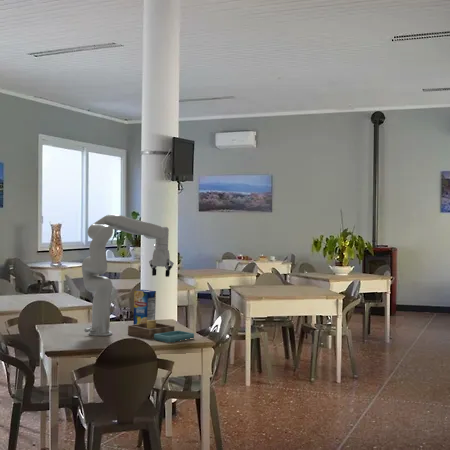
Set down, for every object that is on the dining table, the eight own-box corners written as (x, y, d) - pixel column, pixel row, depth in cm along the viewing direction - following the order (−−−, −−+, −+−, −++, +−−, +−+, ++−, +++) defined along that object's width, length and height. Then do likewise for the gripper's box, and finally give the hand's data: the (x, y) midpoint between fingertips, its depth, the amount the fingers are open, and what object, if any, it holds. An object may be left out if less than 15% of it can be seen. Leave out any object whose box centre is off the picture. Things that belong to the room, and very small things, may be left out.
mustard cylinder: (150, 336, 348) (151, 321, 348) (144, 334, 351) (145, 320, 351) (157, 334, 352) (158, 320, 352) (151, 333, 355) (151, 319, 355)
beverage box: (146, 330, 367) (147, 291, 367) (133, 327, 373) (134, 290, 373) (154, 328, 372) (156, 291, 372) (141, 326, 379) (142, 289, 379)
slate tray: (170, 343, 329) (170, 337, 329) (154, 339, 337) (154, 334, 337) (193, 338, 343) (194, 333, 343) (178, 335, 350) (178, 330, 350)
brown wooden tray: (150, 338, 339) (150, 329, 339) (127, 334, 350) (128, 325, 350) (174, 335, 352) (174, 326, 352) (151, 330, 364) (152, 322, 364)
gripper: (146, 246, 380) (145, 275, 380) (169, 248, 372) (168, 277, 372) (153, 246, 387) (152, 274, 387) (177, 248, 378) (176, 276, 378)
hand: (160, 276), depth 379 cm, fingers open, 9 cm apart
